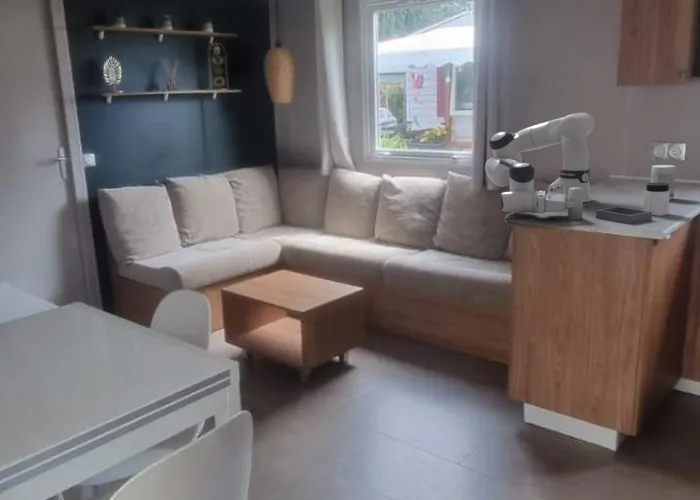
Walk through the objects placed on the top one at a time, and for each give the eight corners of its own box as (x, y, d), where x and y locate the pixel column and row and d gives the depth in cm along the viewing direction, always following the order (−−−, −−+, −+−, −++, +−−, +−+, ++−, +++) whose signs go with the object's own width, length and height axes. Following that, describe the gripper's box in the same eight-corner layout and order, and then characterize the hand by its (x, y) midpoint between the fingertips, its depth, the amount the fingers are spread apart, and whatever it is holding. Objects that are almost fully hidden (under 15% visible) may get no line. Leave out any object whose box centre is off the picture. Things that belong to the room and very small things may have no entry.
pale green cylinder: (564, 218, 259) (565, 188, 256) (574, 216, 261) (575, 186, 258) (575, 220, 254) (576, 189, 251) (585, 218, 256) (586, 188, 253)
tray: (595, 217, 257) (596, 210, 256) (617, 214, 262) (618, 206, 261) (629, 223, 243) (629, 215, 242) (651, 219, 248) (652, 211, 247)
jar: (658, 216, 253) (660, 186, 250) (639, 214, 260) (641, 184, 257) (672, 213, 258) (674, 183, 255) (652, 211, 265) (654, 181, 262)
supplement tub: (678, 198, 289) (680, 165, 285) (666, 201, 284) (668, 167, 280) (657, 196, 297) (659, 164, 293) (645, 199, 291) (647, 166, 288)
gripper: (541, 205, 270) (577, 205, 266) (539, 214, 251) (577, 214, 247) (542, 190, 269) (577, 190, 264) (540, 198, 250) (578, 198, 246)
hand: (577, 202), depth 256 cm, fingers open, 8 cm apart
